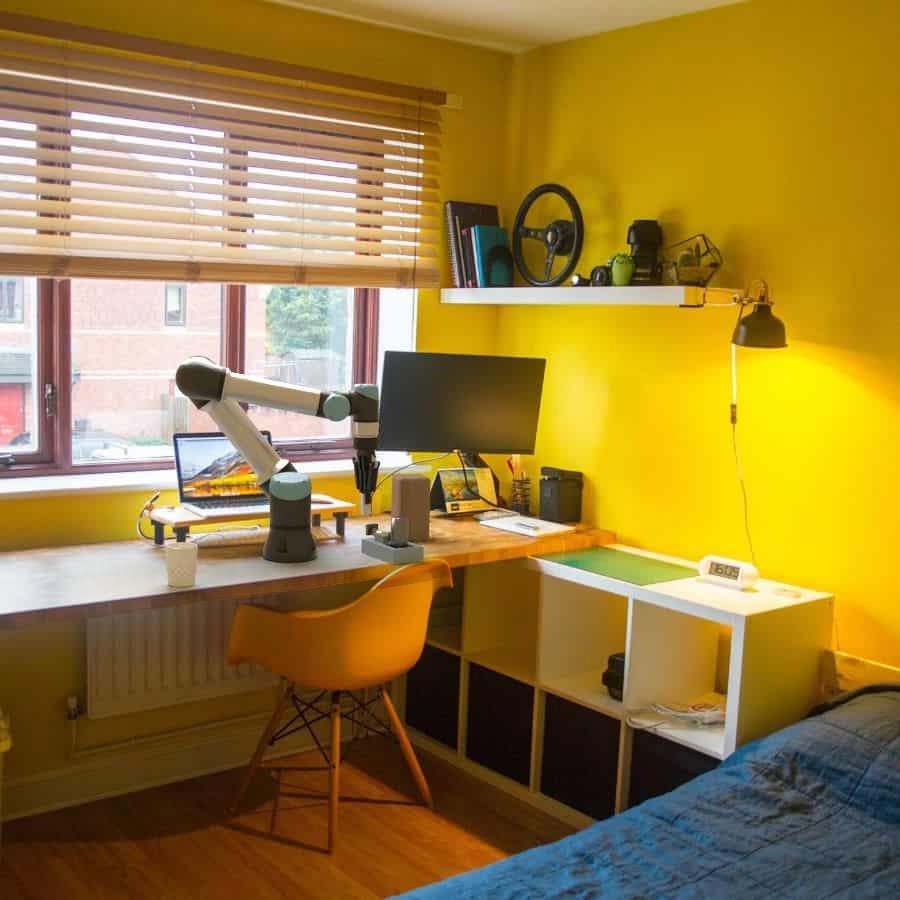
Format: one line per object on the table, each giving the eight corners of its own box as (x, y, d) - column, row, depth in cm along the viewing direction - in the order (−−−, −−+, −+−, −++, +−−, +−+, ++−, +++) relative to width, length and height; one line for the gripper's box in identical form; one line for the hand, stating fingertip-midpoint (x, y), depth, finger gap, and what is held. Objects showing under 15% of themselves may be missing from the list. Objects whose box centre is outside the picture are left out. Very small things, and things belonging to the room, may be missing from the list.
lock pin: (381, 541, 317) (381, 529, 317) (365, 535, 324) (365, 524, 324) (392, 540, 319) (392, 528, 319) (376, 534, 326) (376, 523, 326)
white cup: (192, 579, 283) (192, 541, 282) (201, 586, 276) (201, 547, 275) (162, 582, 279) (162, 543, 278) (170, 589, 272) (169, 549, 271)
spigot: (387, 558, 313) (387, 517, 312) (401, 556, 316) (402, 515, 315) (396, 561, 309) (396, 520, 308) (411, 560, 312) (412, 518, 311)
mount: (393, 564, 306) (393, 542, 305) (361, 552, 321) (361, 531, 320) (423, 560, 311) (423, 539, 311) (390, 549, 326) (391, 528, 325)
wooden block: (389, 536, 345) (391, 473, 342) (420, 535, 348) (421, 473, 346) (398, 543, 335) (400, 478, 333) (430, 541, 339) (431, 477, 336)
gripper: (388, 437, 322) (387, 516, 325) (366, 433, 333) (365, 509, 336) (366, 438, 318) (365, 519, 321) (344, 434, 329) (344, 512, 331)
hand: (365, 514), depth 328 cm, fingers closed
